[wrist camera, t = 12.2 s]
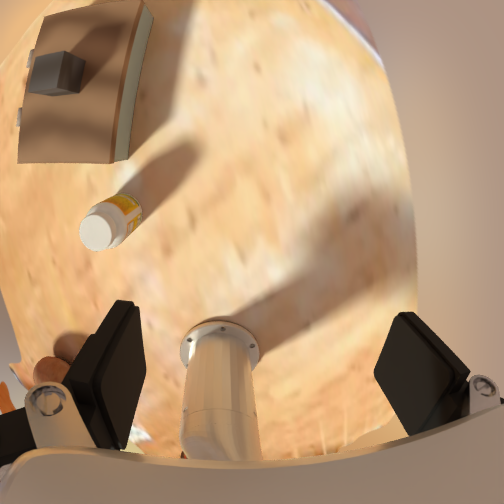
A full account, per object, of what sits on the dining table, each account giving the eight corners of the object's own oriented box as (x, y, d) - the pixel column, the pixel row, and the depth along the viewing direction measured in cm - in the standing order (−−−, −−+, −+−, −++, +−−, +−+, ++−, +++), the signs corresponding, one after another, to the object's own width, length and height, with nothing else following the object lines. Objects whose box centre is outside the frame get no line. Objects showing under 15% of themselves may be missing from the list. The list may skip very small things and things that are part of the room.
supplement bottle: (147, 227, 36) (124, 253, 28) (113, 235, 36) (83, 262, 27) (137, 187, 35) (109, 202, 26) (102, 197, 34) (68, 215, 26)
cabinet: (127, 159, 33) (113, 162, 28) (37, 158, 31) (17, 161, 27) (153, 18, 26) (144, 3, 22) (60, 30, 24) (43, 21, 20)
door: (114, 162, 28) (88, 168, 22) (18, 162, 27) (-14, 169, 21) (144, 3, 22) (128, -21, 16) (43, 21, 20) (17, 8, 14)
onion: (94, 376, 45) (78, 414, 36) (67, 385, 46) (51, 418, 37) (63, 340, 42) (40, 375, 33) (38, 351, 43) (16, 383, 34)
